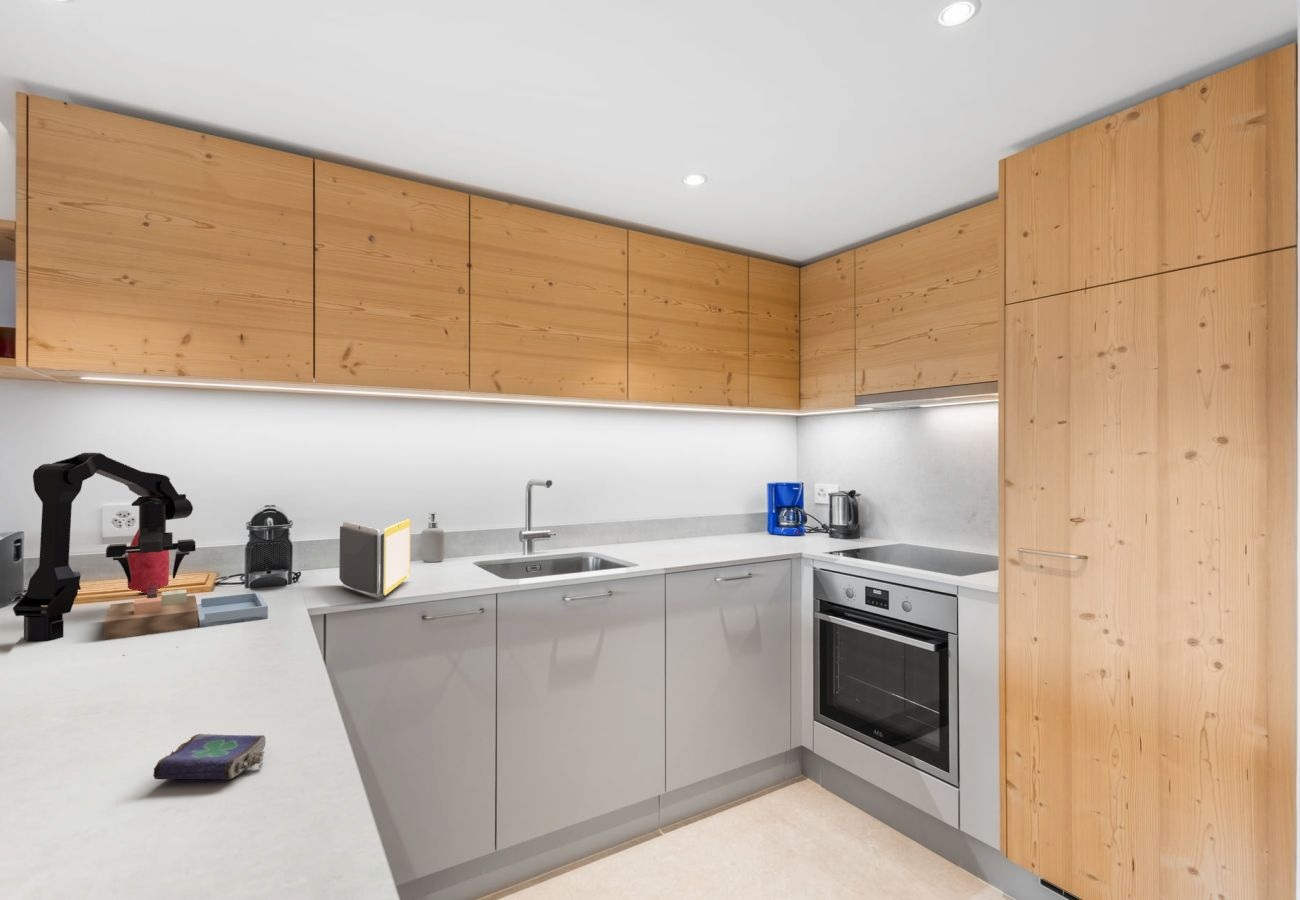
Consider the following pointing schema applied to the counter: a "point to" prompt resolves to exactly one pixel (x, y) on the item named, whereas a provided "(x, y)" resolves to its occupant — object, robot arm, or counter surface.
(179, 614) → the wood-grain brown block
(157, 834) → the counter surface
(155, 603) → the terracotta tile
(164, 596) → the sage tile
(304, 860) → the counter surface
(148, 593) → the grey rectangular bar
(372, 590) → the folding display board
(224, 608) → the box
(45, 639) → the robot arm
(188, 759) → the navy flat block
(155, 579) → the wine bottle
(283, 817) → the counter surface
